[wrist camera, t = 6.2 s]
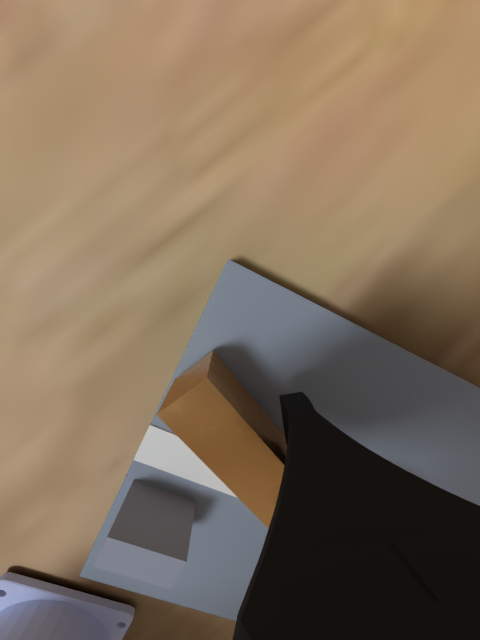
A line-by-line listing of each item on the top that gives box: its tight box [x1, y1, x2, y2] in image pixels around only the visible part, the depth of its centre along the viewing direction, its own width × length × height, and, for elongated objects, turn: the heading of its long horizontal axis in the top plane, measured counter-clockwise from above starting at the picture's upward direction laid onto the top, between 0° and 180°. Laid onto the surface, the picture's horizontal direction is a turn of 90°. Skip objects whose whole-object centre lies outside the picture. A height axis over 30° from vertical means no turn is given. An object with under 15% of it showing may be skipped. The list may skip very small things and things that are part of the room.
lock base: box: [79, 259, 480, 621], centre depth 11 cm, size 18×20×4 cm
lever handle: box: [157, 351, 287, 529], centre depth 9 cm, size 13×5×4 cm, turn 37°
